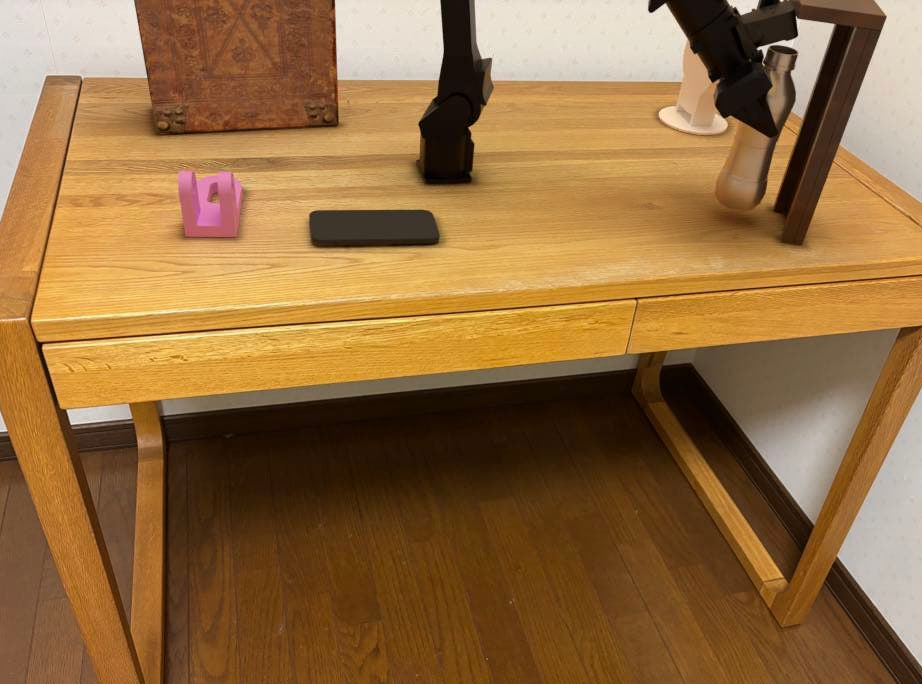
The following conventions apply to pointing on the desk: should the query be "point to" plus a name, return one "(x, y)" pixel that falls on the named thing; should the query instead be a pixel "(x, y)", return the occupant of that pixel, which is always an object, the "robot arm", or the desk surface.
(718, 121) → the beige rounded piece
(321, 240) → the phone
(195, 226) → the bracket
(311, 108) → the book
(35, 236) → the desk surface
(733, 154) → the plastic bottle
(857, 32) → the dark wooden stand
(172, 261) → the desk surface
